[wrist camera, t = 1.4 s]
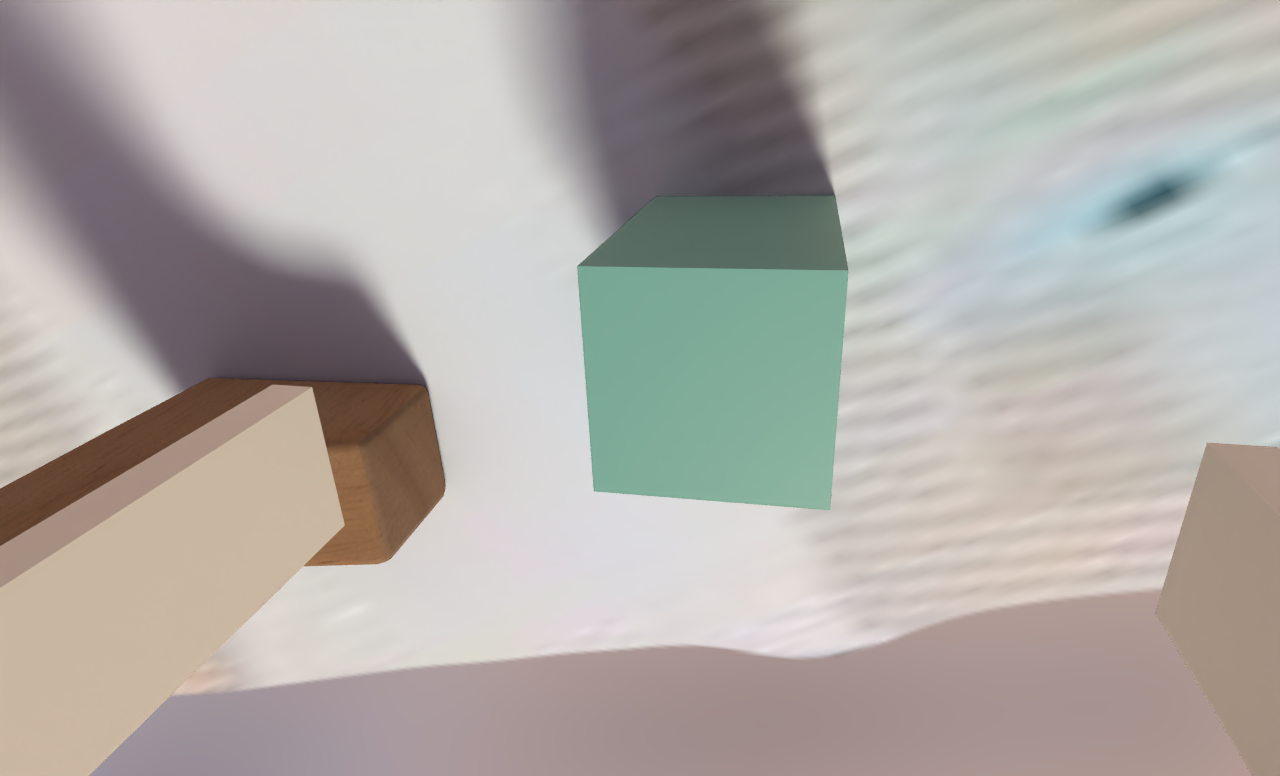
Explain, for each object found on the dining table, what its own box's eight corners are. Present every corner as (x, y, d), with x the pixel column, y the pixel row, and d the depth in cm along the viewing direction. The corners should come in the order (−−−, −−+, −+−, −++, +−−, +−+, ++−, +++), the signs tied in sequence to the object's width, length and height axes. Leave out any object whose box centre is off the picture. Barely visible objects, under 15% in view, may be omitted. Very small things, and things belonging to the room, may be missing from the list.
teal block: (660, 358, 23) (593, 491, 16) (655, 196, 21) (577, 266, 14) (823, 364, 22) (830, 510, 15) (835, 195, 20) (848, 270, 13)
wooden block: (430, 380, 25) (-230, 942, 9) (451, 493, 27) (-71, 1128, 11) (207, 373, 27) (-663, 829, 11) (240, 479, 29) (-469, 1003, 13)
